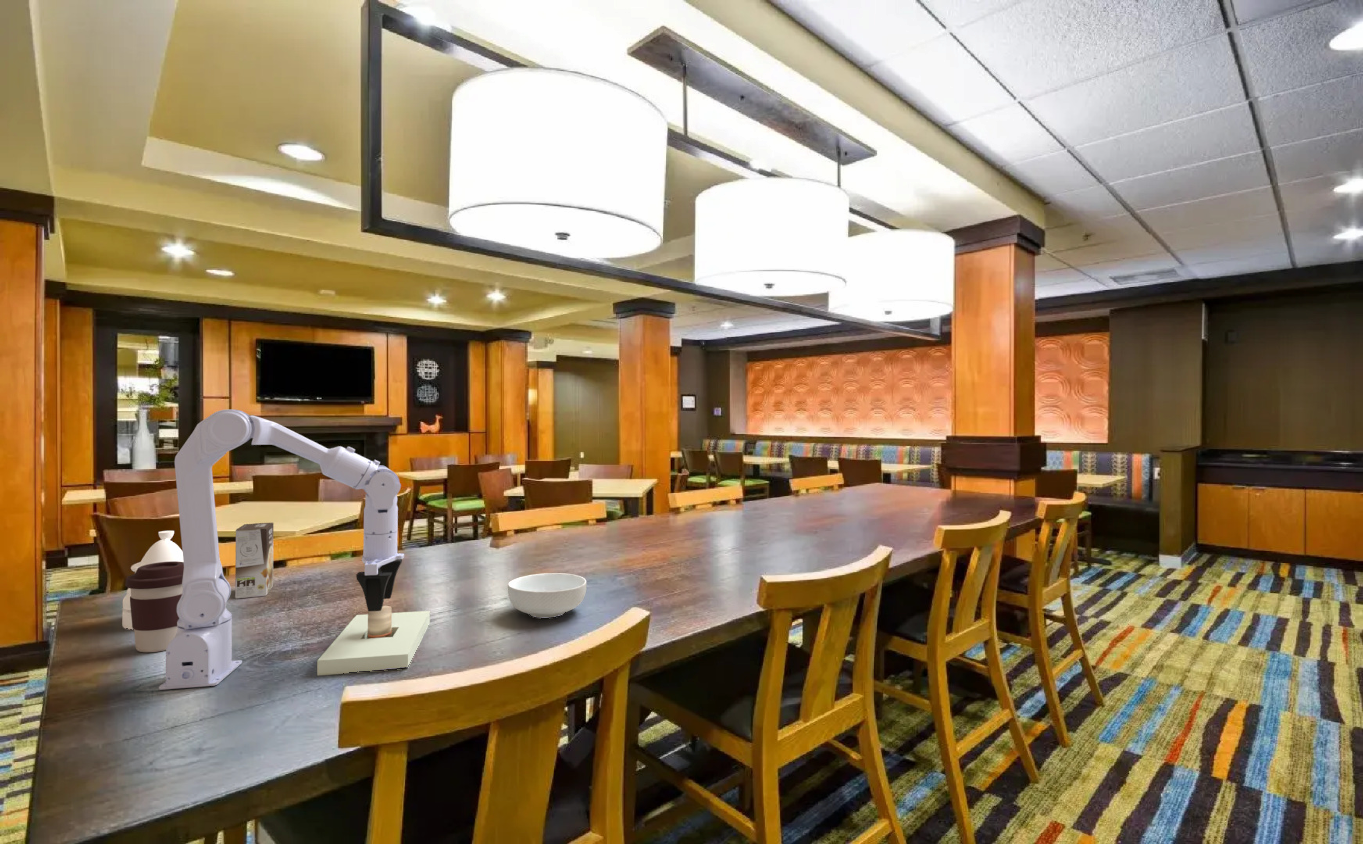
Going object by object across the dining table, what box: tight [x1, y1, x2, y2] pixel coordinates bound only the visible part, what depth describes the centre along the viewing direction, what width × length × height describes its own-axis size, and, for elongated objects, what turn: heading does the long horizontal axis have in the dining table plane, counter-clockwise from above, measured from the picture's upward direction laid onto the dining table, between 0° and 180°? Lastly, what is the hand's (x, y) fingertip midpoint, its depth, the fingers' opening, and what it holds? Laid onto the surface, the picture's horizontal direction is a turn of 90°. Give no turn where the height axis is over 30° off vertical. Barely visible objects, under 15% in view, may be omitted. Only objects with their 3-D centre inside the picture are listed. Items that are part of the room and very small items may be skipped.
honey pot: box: [121, 530, 183, 631], centre depth 131 cm, size 13×13×18 cm
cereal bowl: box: [507, 572, 588, 617], centre depth 138 cm, size 17×17×7 cm
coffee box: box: [234, 522, 275, 599], centre depth 151 cm, size 9×6×16 cm
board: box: [316, 610, 431, 676], centre depth 118 cm, size 24×14×2 cm, turn 13°
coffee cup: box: [125, 561, 184, 653], centre depth 116 cm, size 10×10×15 cm
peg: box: [367, 605, 393, 639], centre depth 117 cm, size 4×4×7 cm
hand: (379, 604), depth 117 cm, fingers open, 7 cm apart
